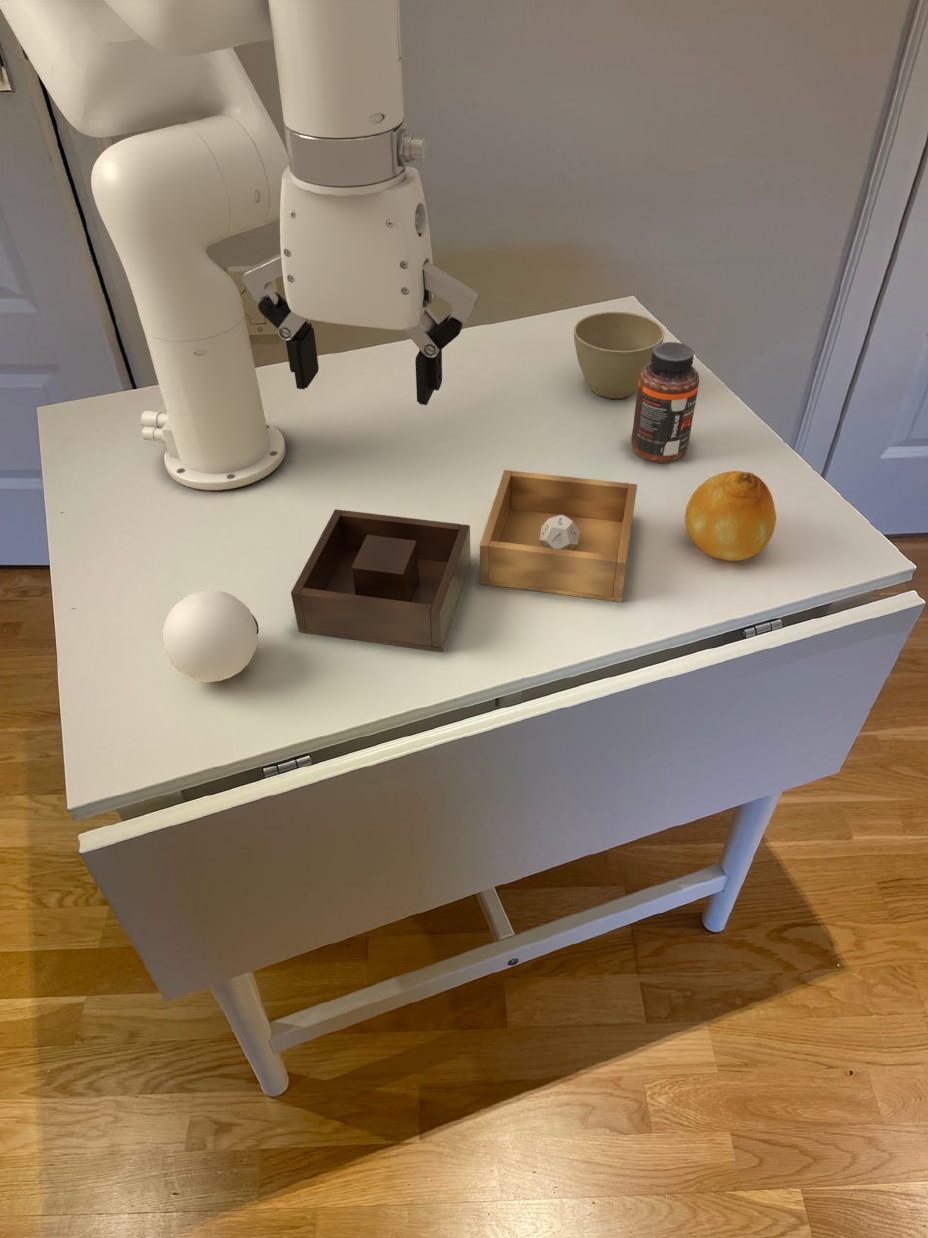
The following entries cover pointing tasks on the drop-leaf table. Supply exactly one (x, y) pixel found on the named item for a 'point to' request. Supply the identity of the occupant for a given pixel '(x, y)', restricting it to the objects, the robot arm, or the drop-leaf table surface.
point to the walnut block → (386, 568)
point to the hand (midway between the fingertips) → (366, 387)
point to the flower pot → (615, 350)
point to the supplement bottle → (665, 403)
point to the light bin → (531, 566)
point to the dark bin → (416, 624)
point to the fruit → (731, 516)
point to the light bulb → (210, 636)
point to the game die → (559, 533)
